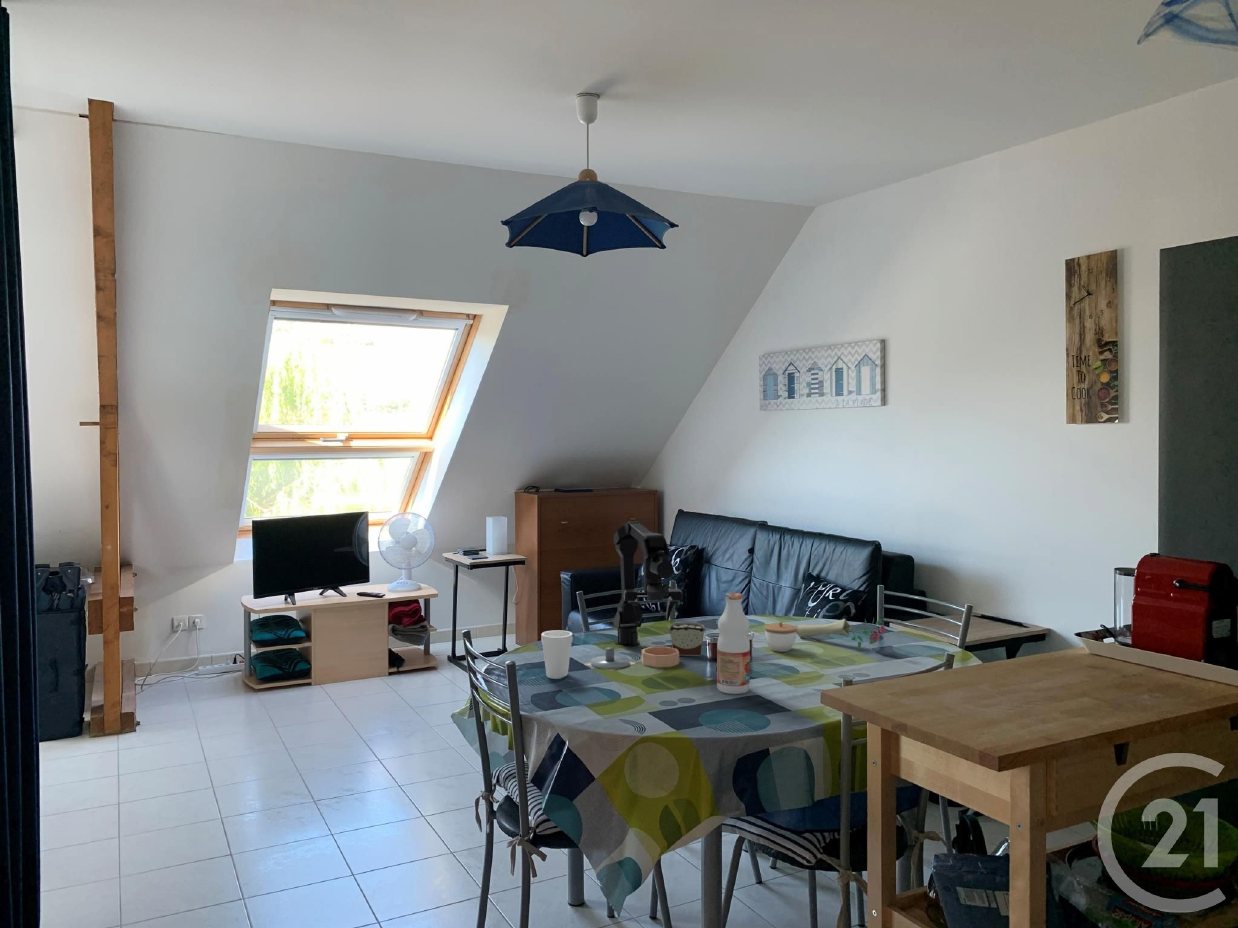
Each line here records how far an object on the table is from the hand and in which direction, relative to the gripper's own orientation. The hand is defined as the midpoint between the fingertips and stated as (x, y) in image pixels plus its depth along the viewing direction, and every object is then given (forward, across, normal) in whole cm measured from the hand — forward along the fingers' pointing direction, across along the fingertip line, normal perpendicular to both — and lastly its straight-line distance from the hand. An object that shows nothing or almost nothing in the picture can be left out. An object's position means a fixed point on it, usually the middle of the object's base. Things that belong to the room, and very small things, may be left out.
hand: (653, 621), depth 299 cm
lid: (+13, -14, -3) cm, 19 cm away
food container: (+13, +13, +10) cm, 21 cm away
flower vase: (+14, +68, +16) cm, 71 cm away
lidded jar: (+13, +45, +13) cm, 49 cm away
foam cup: (+13, -31, -15) cm, 37 cm away
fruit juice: (+13, +20, -33) cm, 41 cm away
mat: (+13, -14, -3) cm, 20 cm away
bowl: (+13, +2, -2) cm, 13 cm away
